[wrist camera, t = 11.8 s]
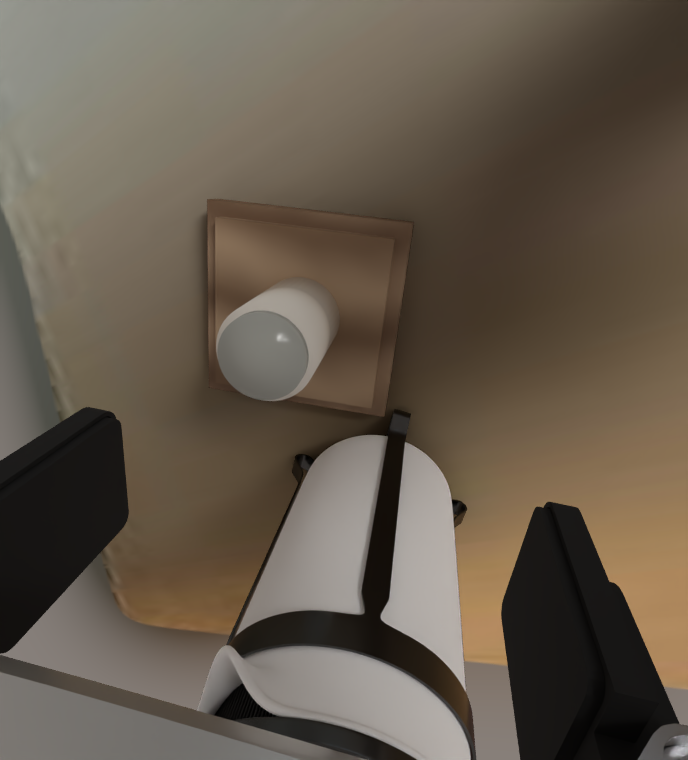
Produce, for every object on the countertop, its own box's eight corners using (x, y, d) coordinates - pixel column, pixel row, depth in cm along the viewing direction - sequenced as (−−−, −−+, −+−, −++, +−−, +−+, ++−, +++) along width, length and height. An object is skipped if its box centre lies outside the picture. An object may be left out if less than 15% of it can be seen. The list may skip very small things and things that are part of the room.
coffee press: (272, 526, 44) (15, 1076, 17) (322, 377, 38) (37, 866, 10) (449, 594, 44) (481, 1276, 16) (529, 453, 37) (805, 1185, 10)
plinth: (219, 198, 34) (200, 199, 31) (414, 221, 33) (412, 224, 30) (219, 378, 40) (203, 392, 37) (386, 406, 38) (383, 422, 35)
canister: (263, 271, 32) (210, 298, 24) (344, 283, 32) (317, 315, 24) (259, 349, 35) (209, 397, 26) (335, 361, 34) (307, 414, 26)
